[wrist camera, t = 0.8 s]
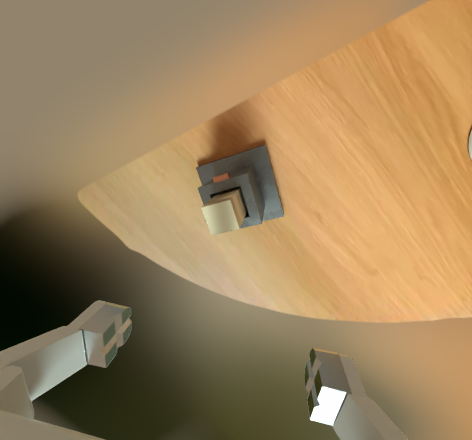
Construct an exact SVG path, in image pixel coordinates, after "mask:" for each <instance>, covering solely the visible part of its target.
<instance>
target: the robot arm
mask: <svg viewBox="0 0 472 440" xmlns="http://www.w3.org/2000/svg"><path fill="white" fill-rule="evenodd" d="M469 154H470V157H471V159H472V130H471V133H470V137H469ZM130 315H131V309H130V308H129V307H125V306H121V305H117V304H113V303H108V302H104V301H100V300H99V301H96V302H94V303H93V304H92V305H91V306H90V307H89V308H88V309H86V310H85V311H84V312H83V313H82V314H81V315H80V316H78V317H77V318H76V319H75V320H74V321H73V322H72V323H70V324H69V325H68V326H67V327H66V326H62V327H60V328H58V329H55V330H52V331H50V332H48V333H45V334H43V335H40V336H38V337H35V338H33V339H30V340H28V341H25V342H23V343H20V344H18V345H15V346H13V347H11V348H8V349H6V350H3V351H1V352H0V440H104V439H101V438H97V437H94V436H90V435H87V434H83V433H79V432H76V431H72V430H69V429H66V428H62V427H59V426H55V425H52V424H48V423H45V422H41V421H37V420H35V419H32V418H33V417H34V409H33V406H32V402H31V401H32V400H34V399H35V398H37V397H38V396H40V395H42V394H43V393H44V392H46V391H48V390H49V389H51V388H52V387H54V386H55V385H57V384H58V383H60V382H61V381H63V380H64V379H66V378H68V377H69V376H70V375H72V374H74V373H75V372H76V371H78V370H80V369H81V368H83V367H84V366H86V365H87V364H91V365H96V366H100V367H104V368H106V367H107V366H108V365H109V363H110V362H111V361H112V359H113V358H114V357H115V355H116V354H117V348H118V347H120V346H122V345H123V344H124V343H125V342H126V340H127V338H128V337H129V334H130V332H131V328H132V322H131V321H130V319H129V317H130ZM309 356H310V360H309V361H308V362H307V363H306V366H305V373H304V380H305V388H306V390H307V391H308V392H309V396H308V399H307V402H308V409H309V415H310V419H311V420H314V421H318V422H321V423H325V424H328V425H331V426H333V428H334V430H335V432H336V433H337V435H338V437H339V438H340V440H408V438H407V437H406V436H405V435H404V434H403V433H402V432H401V431H400V430H399V429H398V428H397V426H396V425H395V424H394V423H393V422H392V421H391V420H390V419H389V418H388V416H386V414H385V413H384V412H383V411H382V410H381V409H380V408H379V407H378V406H377V404H376V403H375V402H374V401H373V400H372V399H370V398H367V396H366V393H365V391H364V388H363V386H362V383H361V380H360V378H359V375H358V373H357V370H356V368H355V365H354V362H353V360H352V358H351V357H350V356H348V355H344V354H339V353H334V352H330V351H324V350H320V349H315V348H312V349H311V351H310V354H309Z"/></svg>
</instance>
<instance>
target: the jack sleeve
mask: <svg viewBox="0 0 472 440" xmlns="http://www.w3.org/2000/svg"><path fill="white" fill-rule="evenodd" d="M196 169H197V172H198V174H199V177H200V180H201V183H202V186H200V187H199V188H198V190H199V193H200V196H201V199H202V201H203V204H204V205H205V204H206V203H207V202H208V201H210V200H211V199H212V198H213V197H214V196H215V195H216V194H218V193H219V192H221V191H224V190H228V189H231V188H235V187H238V186H240V187H241V190H242V193H243V196H244V200H245V203H246V206H247V209H248V211H247V213H246V215H245V218H244V220H243V222H242V225H241V227H240V228H245V227H249V226H253V225H258V224H262V221H266V220H270V219H275V218H279V217H283V216H284V213H283V209H282V205H281V202H280V198H279V194H278V190H277V186H276V182H275V179H274V175H273V171H272V167H271V163H270V159H269V156H268V152H267V148H266V145H263V146H260V147H257V148H254V149H251V150H248V151H245V152H242V153H239V154H236V155H233V156H230V157H227V158H224V159H220V160H217V161H214V162H211V163H208V164H205V165H202V166H199V167H196Z"/></svg>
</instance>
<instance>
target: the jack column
mask: <svg viewBox="0 0 472 440" xmlns="http://www.w3.org/2000/svg"><path fill="white" fill-rule="evenodd" d="M201 208H202V211H203V214H204V217H205V219H206V222H207V225H208V227H209V230H210V233H211V235H216V234H220V233H224V232H229V231H233V230H237V229H240V227H241V225H242V222H243V220H244V218H245V215H246V213H247V211H248V209H247V206H246V203H245V200H244V196H243V193H242V190H241V187H240V186H238V187H235V188H231V189H228V190H224V191H221V192H219V193H218V194H216V195H215V196H214V197H213V198H212V199H211V200H210V201H208V202H207V203H206V204H205V205H204V206H203V207H201Z"/></svg>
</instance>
